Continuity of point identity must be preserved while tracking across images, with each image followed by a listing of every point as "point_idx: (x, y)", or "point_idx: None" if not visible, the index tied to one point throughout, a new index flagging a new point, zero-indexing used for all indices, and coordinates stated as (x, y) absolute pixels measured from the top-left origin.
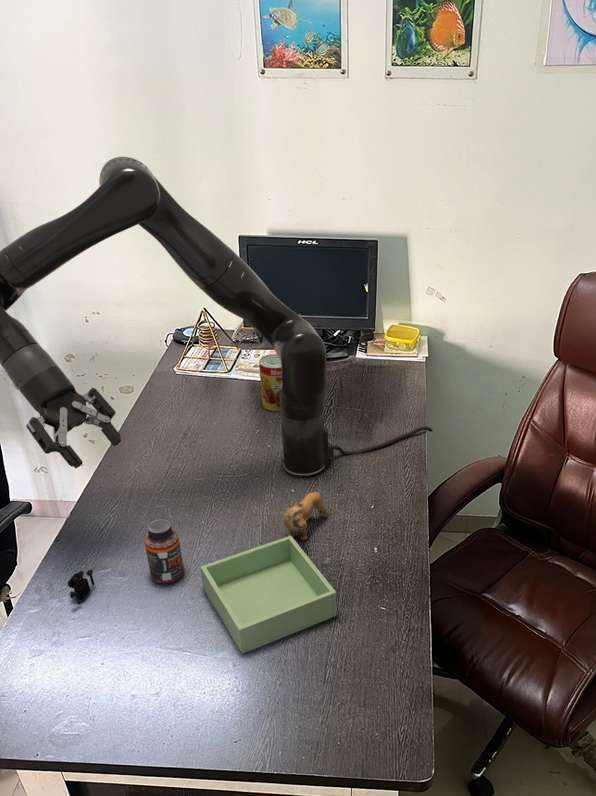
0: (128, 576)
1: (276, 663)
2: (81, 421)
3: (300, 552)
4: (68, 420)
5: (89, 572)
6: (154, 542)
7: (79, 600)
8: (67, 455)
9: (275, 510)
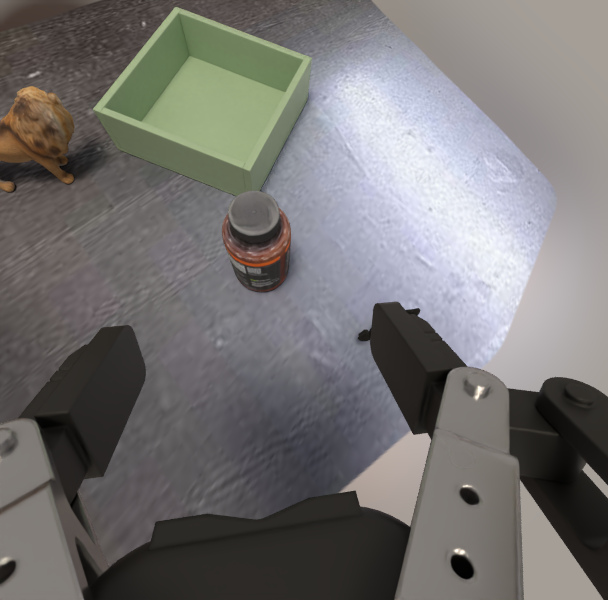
0: (305, 314)
1: None
2: (214, 517)
3: (125, 76)
4: (359, 583)
5: (367, 332)
6: (280, 218)
7: None
8: (445, 344)
9: (9, 245)
